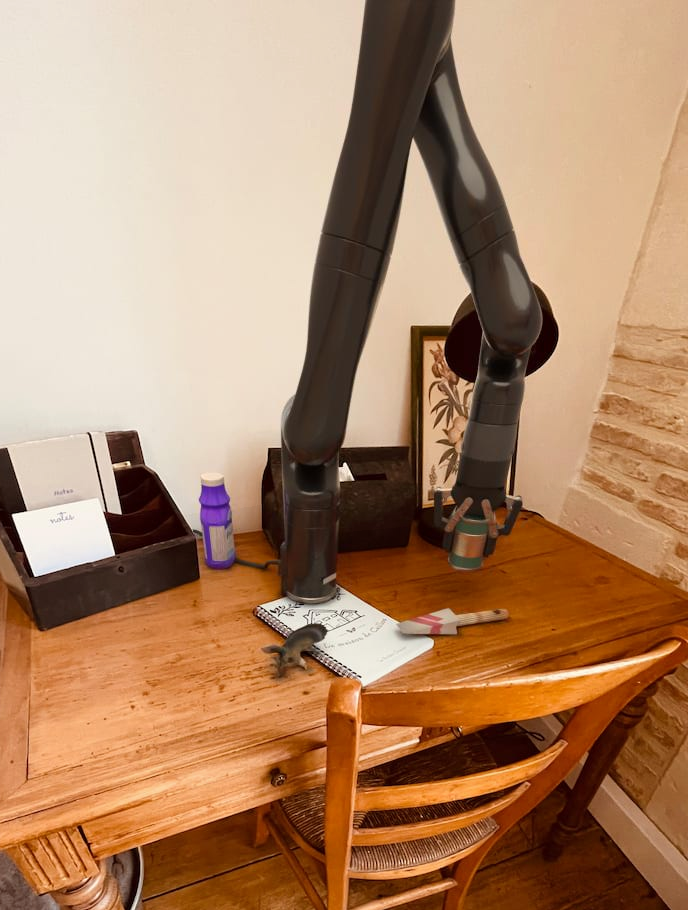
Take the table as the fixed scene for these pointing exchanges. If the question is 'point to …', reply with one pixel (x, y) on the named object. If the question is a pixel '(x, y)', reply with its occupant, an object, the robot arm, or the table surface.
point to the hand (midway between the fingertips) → (466, 552)
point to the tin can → (469, 543)
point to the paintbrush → (448, 621)
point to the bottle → (216, 521)
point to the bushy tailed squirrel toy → (296, 646)
